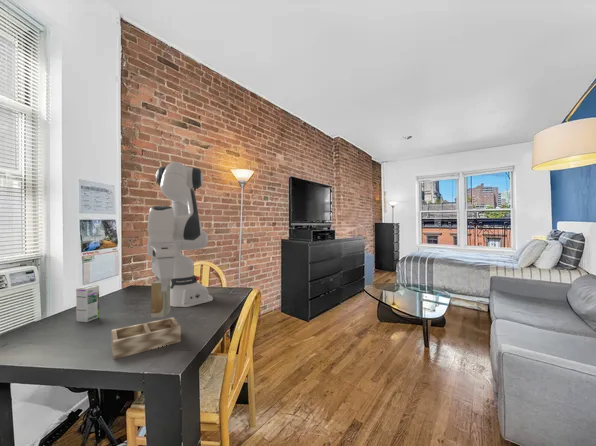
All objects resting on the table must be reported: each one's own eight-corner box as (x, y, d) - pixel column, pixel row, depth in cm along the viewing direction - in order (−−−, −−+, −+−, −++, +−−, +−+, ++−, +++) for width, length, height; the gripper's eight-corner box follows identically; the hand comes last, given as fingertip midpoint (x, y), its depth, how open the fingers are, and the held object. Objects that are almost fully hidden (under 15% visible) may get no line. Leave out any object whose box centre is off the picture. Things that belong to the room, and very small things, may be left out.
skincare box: (158, 312, 96) (159, 279, 96) (170, 312, 96) (171, 279, 97) (150, 318, 90) (150, 282, 90) (163, 317, 90) (163, 282, 90)
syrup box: (86, 322, 110) (87, 288, 110) (75, 321, 111) (75, 287, 111) (99, 317, 115) (99, 285, 115) (89, 316, 117) (89, 284, 117)
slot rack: (173, 331, 101) (173, 317, 101) (180, 341, 92) (180, 326, 92) (111, 345, 89) (111, 329, 89) (113, 359, 80) (113, 341, 80)
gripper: (147, 248, 100) (147, 284, 100) (156, 253, 83) (156, 296, 83) (165, 247, 103) (165, 282, 103) (177, 252, 87) (177, 292, 87)
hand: (161, 288), depth 93 cm, fingers closed on skincare box, 7 cm apart
